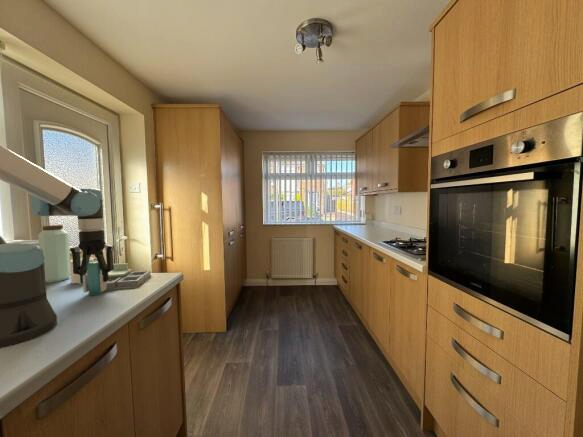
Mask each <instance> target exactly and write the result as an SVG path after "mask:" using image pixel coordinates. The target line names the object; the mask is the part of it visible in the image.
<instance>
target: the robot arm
mask: <svg viewBox="0 0 583 437" xmlns="http://www.w3.org/2000/svg"><path fill="white" fill-rule="evenodd" d="M0 181H1V182H4V183H6V184H8V185H10V186H12V187H15V188H17V189H19V190H21V191H23V192H25V193H27V194H29V195H32V196H31V198H30V209H31V211H32V213H33V214H34V215H35V216H37V217H58V216H59V217H61V216H62V217H65V216H68V217H69V216H70V217H72V216H73V217H75V216H76V217H77V229H78V230H79V232H78V241H79V243H78V245H77V246H73V247H71V248H69V251H70V252H71V253H70V254H71V255H72V260H73V273H74V274H79V275H80V282H81V283H80V284H82V286H83V293H89V289H88V274H86V273H87V263H89V259H90V257H92V255H93V256H94V257H95V258H96V260H97V262H98V263H99V266H100V269H101V274H100V287H101V291H102V292H105V291H104V290H106V289H107V287H106V282H107V281H108V280H109V278H108V272H110V271H112V270H114V264H115V263H114V254H113V251H114V249H115V245H112V244H111V245H109V244H107V243H106V242H105V230H104V227H105V226H104V224H105V223H104V207H103V202H104V200H103V194H102V191H101V189H99V188H77V187H75V186H73V185H71V184H70V183H68V182H66V181H64V180H63V179H61V178H59V177H57V176H56V175H54V174H52V173H50V172H49V171H47V170H45V169H43V168H42V167H41V166H38V165H36V164H35V163H33V162H31V161H30V160H27V159H26V158H25V157H23V156H21V155H19V154H17V153H16V152H14V151H12V150H10V149H9V148H7V147H5V146H4V145H2V144H0ZM103 250H105V254H104V252H103ZM81 251H82V256H81ZM104 255H105V256H104ZM105 257H106V260H105ZM80 258H83V259H82V263H81V262H80ZM44 260H45V257H44V255H43V250H42V248H41V247H40V246H39V244H38V245H37V244H34V243H27V242H26V243H21V242H20V243H19V242H15V243H14V242H13V243H12V242H11V243H7V242H6V241H5V239H4V238H3V237H2V236H1V235H0V348H3V347H8V346H12V345H15V344H19V343H22V342H26V341H29V340H31V339H34V338H36V337H40V336H42V335H44V334H46V333H48V332H50V331H51V330H53V329H54V328H56V326H57V325H58V316H57V313H56V312H55V310H54V309H53V306H52V305H51V302H50V301H49V300H48V296H47V284H46V283H47V282H46V280H45V264H44Z"/></svg>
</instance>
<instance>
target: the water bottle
mask: <svg viewBox="0 0 583 437" xmlns="http://www.w3.org/2000/svg"><path fill="white" fill-rule="evenodd" d="M63 225H64V224H53V225H52V224H50V225H42V230H41V232H39V233H38V235H37V238H38V239H37V240H38V246H40V247H41V248H42V250H43V255H44V257H45V260H44V264H45V280H46V283H48V284H49V283H57V282H58V283H59V282H62V281H66V280H68V279H69V278H71V270H70V261H71V255H70V254H71V253H70V252H71V251H70V242H69V241H70V239H69V238H70V236H69V232H68V231H66V230H65V229H64V226H63Z"/></svg>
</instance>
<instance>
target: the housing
mask: <svg viewBox="0 0 583 437" xmlns="http://www.w3.org/2000/svg"><path fill="white" fill-rule="evenodd" d="M150 276H151V277H152V274H151V270H142V271H132V270H131V271H130V272H129V273H127V274H125V275H124V276H114V277H108V278H109V280H108V281H107V282H106V287H107V289H106V290H104V291H103V292H108V291H119V290H121V291H122V290H131V289H132V290H133V289H138V288H139V286H141V285H142V284H144V283H145V282H146V281H147V280H148V279H149V278H150ZM144 281H145V282H144Z"/></svg>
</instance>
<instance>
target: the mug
mask: <svg viewBox="0 0 583 437" xmlns="http://www.w3.org/2000/svg"><path fill="white" fill-rule="evenodd" d="M82 259H83V257H80V262H81V263H82ZM90 262H95V259H94V257H92V256H90V259H89V263H90ZM70 270H71V276H70V279H71V280H70V282H71V284H74V283H78V284H81V282H80V275H79V274H74V273H73V259H70ZM86 274H87V273H86Z"/></svg>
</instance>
